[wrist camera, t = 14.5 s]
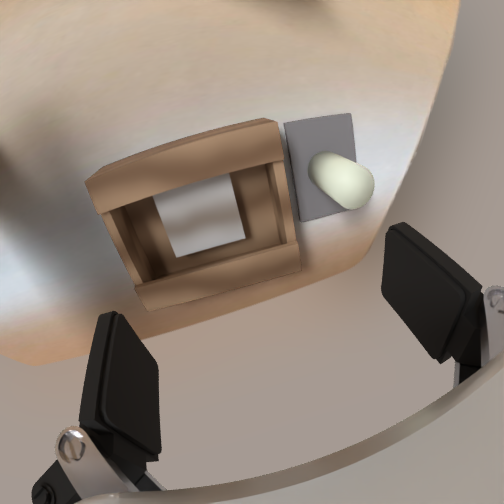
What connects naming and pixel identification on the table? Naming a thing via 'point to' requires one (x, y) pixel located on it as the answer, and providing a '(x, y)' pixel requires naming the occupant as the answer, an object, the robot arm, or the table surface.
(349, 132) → the rubber mat
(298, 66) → the table surface
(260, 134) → the walnut box
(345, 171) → the sage cylinder
